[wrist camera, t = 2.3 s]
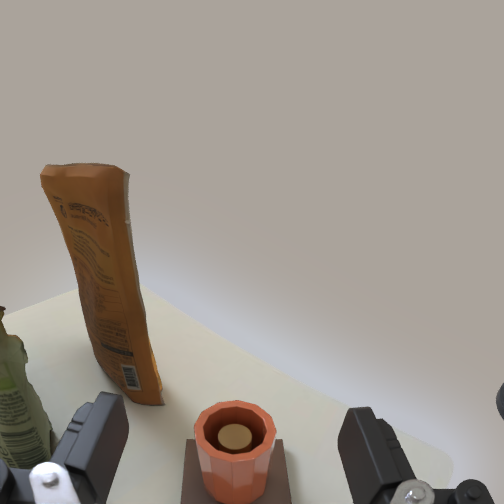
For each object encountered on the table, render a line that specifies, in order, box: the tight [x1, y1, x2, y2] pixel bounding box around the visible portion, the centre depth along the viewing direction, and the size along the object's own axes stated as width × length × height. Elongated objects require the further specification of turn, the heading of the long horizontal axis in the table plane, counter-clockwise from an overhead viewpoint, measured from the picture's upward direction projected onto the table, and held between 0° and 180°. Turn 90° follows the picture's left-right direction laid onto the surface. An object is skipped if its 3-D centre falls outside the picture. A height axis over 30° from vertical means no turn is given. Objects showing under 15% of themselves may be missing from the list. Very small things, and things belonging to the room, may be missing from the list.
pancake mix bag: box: [40, 163, 165, 405], centre depth 34 cm, size 7×19×28 cm, turn 50°
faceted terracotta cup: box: [194, 400, 276, 504], centre depth 23 cm, size 6×6×9 cm
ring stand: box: [181, 424, 292, 504], centre depth 24 cm, size 10×10×10 cm
